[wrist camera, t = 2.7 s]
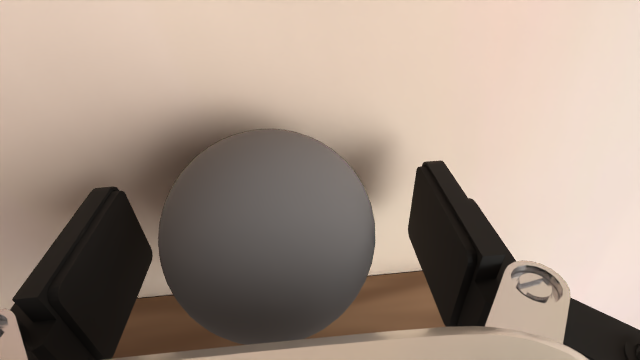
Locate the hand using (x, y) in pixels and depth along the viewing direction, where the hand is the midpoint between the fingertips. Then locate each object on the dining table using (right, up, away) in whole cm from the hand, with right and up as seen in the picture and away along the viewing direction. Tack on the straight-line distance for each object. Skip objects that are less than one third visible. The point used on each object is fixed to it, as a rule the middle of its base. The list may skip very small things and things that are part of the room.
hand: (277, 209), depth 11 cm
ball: (0, -1, -1) cm, 1 cm away
